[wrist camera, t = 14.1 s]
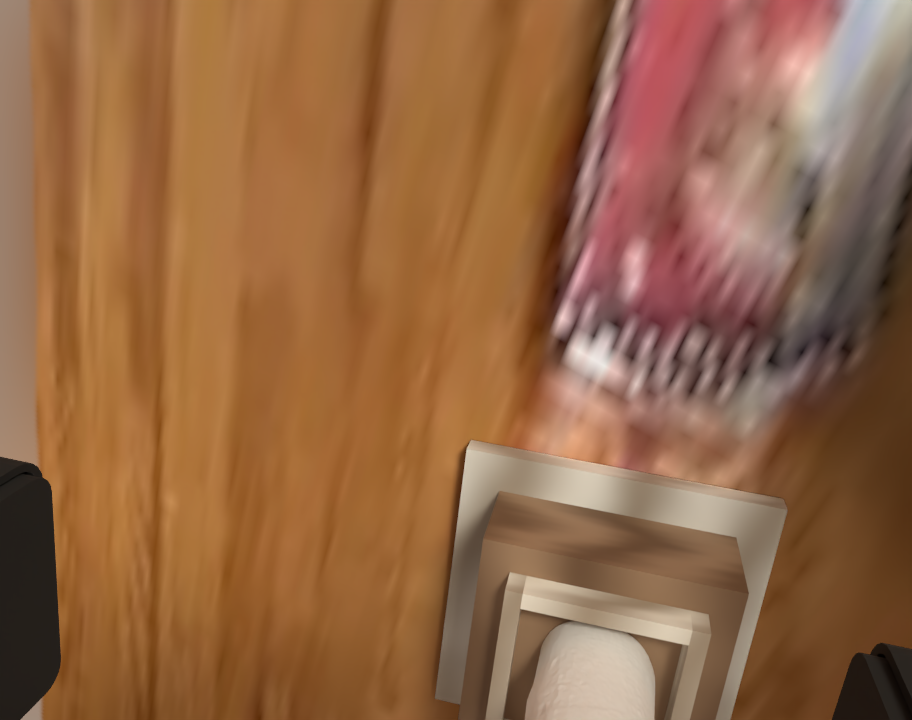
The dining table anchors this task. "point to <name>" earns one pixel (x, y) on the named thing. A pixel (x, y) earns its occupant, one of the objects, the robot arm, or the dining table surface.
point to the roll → (591, 676)
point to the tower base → (607, 496)
